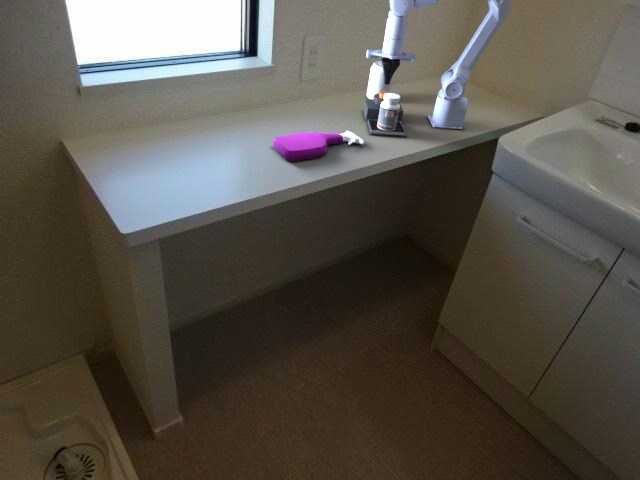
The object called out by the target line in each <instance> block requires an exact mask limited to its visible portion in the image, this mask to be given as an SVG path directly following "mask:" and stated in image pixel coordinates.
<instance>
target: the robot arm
mask: <svg viewBox="0 0 640 480" xmlns="http://www.w3.org/2000/svg"><path fill="white" fill-rule="evenodd" d="M438 2H439V0H389V7H390V9H389V11H388V18H387V19H386V25H385V26H386V27H385V33H384V39H383V44H382V49H367V50H366V59H380V61H382V66H383V71H384V84H386V85H389V83H390V81H391V82H392V80H391V78H392V79H393V76H394V75H395V73H396V71H397V70H398V68H399V67H400V65H401V62H402V61H403V62H410V63H416V60H417V54H416V53H410V52H405V51H403V48H404V43H405V37H406V31H407V27H408V16H409V13H410V12H411V11H418V10H420V9H424V8H426V7H430V6H433V5H436V4H437V3H438ZM511 2H512V0H487V3H488V8H489V9H488V12H487V13H486V15H485V17H484V18H483V20H482V21H481V23H480V24H479V26H478V27H477V29H476V31H475V32H474V34H473V35H472V37H471V39H470V41H469V42H468V43H467V45H466V46H465V48H464V49H463V51H462V53H461V54H460V56H459V58H458V59H457V61H456V62H454V63H453V64H452V65H451V67H450V68H449V69H448V70H446V71H445V72H443V74H442V75H441V78H440V84H441V89H440V90H439V91H438V92H437V97H436V100H435V105H434V108H433V112H432V115H428V116H427V118H428V120H429V122H430V124H431V126H432V128H437V129H438V128H439V129H450V130H451V129H453V130H463V126H464V122H465V118H466V116H467V115H466V114H467V112H468V105H469V101H468V98H467V97H464V96H463V95H464V93H465V90H466V86H467V83H468V82H469V80H470V77H471V74H472V71H473V69H475V68H474V67H476V65H477V63H478V62H479V60H480V59H481V57H482V55H483V54H484V52H485V51H486V49H487V48H488V46H489V45H490V43H491V42H492V40H493V39H494V37H495V36H496V34H497V33H498V32H499V30H500V28H501V27H502V25H503V23H504V22H505V20H506V19H507V18H508V16H509V14H510V13H511V12H510V11H511V5H512V4H511ZM400 61H401V62H400Z"/></svg>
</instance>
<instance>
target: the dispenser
mask: <svg viewBox="0 0 640 480" xmlns="http://www.w3.org/2000/svg"><path fill="white" fill-rule="evenodd" d="M383 101H384V99H381V98H379V93H378V94H375V95H374V99H369V98H365V99H364V106H363V116H364V120H365V122H367V120H368V119H378V117H379V112H380V106H381V103H382V102H383ZM398 103H399V105H400V110H399V115H398V120H397V121H401V122H402V120H403V116H404V115H403V114H404V109H403V107H402V105H401V101H399V102H398Z"/></svg>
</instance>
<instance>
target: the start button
mask: <svg viewBox="0 0 640 480" xmlns="http://www.w3.org/2000/svg"><path fill="white" fill-rule="evenodd" d="M386 93H390V91H389V92H387V91H380V93H379V98H381V99H384V94H386Z"/></svg>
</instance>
